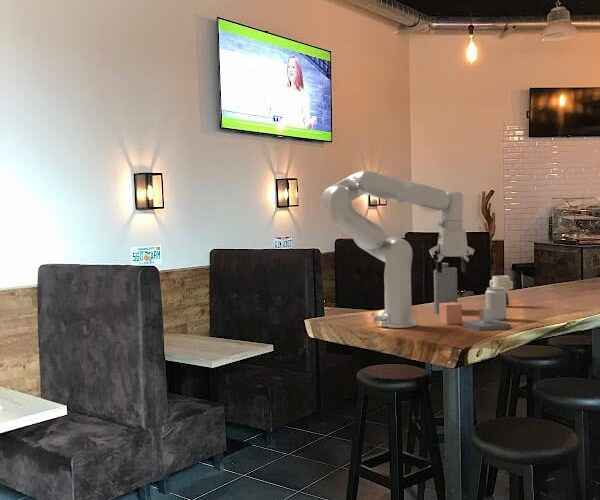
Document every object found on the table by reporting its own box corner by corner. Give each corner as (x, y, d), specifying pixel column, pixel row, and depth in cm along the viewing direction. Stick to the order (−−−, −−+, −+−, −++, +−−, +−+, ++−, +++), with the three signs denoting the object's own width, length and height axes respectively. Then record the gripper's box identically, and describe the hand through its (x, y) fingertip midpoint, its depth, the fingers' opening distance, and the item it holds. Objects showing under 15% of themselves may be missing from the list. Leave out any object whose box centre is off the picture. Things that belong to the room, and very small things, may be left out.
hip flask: (440, 314, 258) (439, 264, 257) (431, 313, 260) (430, 264, 260) (458, 309, 270) (458, 261, 269) (450, 308, 272) (449, 261, 272)
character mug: (517, 306, 274) (517, 276, 273) (508, 308, 269) (507, 277, 268) (494, 304, 282) (494, 274, 281) (485, 306, 277) (485, 276, 277)
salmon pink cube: (446, 324, 233) (446, 305, 232) (439, 322, 239) (439, 303, 238) (462, 323, 234) (461, 304, 234) (454, 321, 240) (454, 302, 240)
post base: (479, 330, 218) (478, 311, 218) (462, 325, 230) (461, 307, 230) (510, 328, 221) (510, 309, 221) (492, 323, 233) (492, 305, 232)
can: (491, 321, 237) (491, 288, 237) (482, 318, 245) (481, 286, 244) (510, 320, 239) (509, 287, 238) (500, 317, 246) (499, 286, 246)
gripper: (434, 225, 230) (433, 273, 230) (479, 225, 233) (478, 272, 234) (425, 225, 237) (425, 272, 238) (469, 225, 241) (468, 271, 241)
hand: (451, 272), depth 236 cm, fingers open, 9 cm apart
